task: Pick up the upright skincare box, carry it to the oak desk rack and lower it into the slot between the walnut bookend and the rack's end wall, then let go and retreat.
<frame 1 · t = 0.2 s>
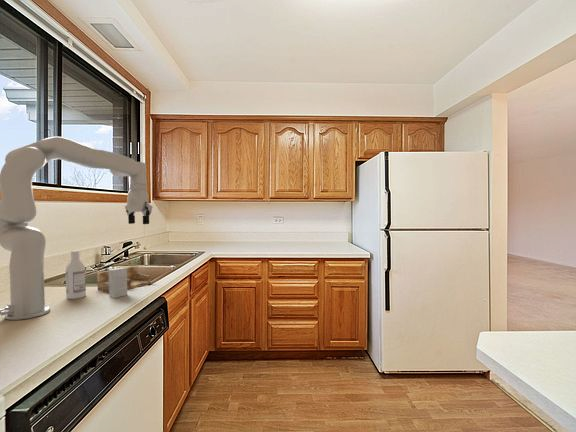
hand: (138, 223, 152), 30 cm above the countertop, fingers open, 9 cm apart
bath foam: (76, 297, 135), on the countertop
skincare box: (118, 296, 137), on the countertop
rack: (125, 286, 153), on the countertop
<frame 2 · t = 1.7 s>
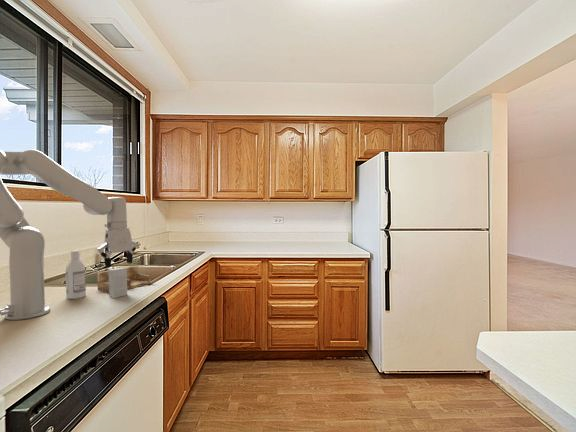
hand: (119, 264, 137), 13 cm above the countertop, fingers open, 9 cm apart
nothing on the countertop moved.
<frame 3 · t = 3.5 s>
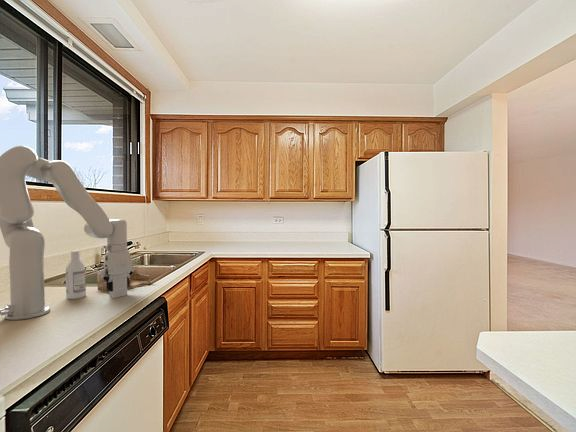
hand: (118, 288, 137), 3 cm above the countertop, fingers closed on skincare box, 6 cm apart
skincare box: (118, 296, 137), on the countertop, touching gripper
everything else where it was.
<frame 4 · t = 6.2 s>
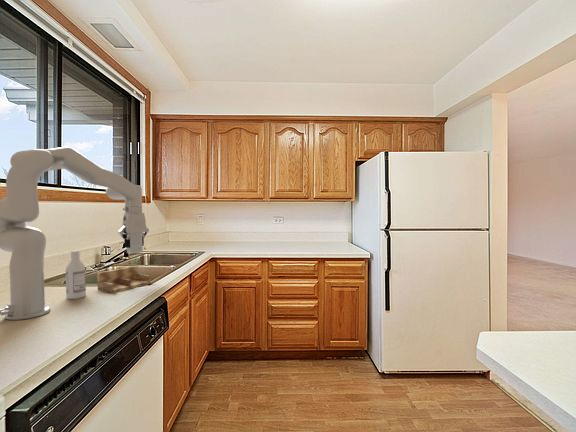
hand: (134, 246, 155), 19 cm above the countertop, fingers closed on skincare box, 6 cm apart
skincare box: (134, 253, 155), point 16 cm above the countertop, touching gripper
everything else where it was.
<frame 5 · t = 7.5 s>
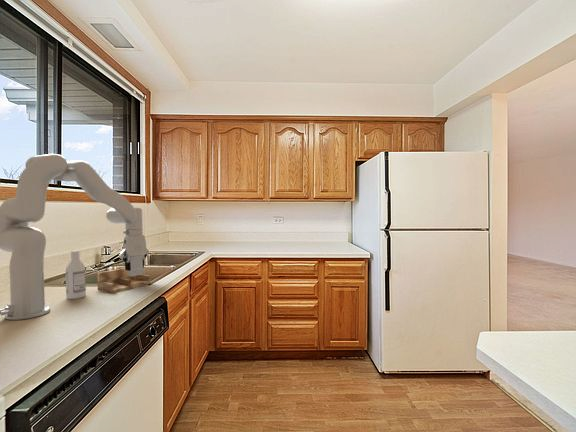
hand: (134, 268, 155), 8 cm above the countertop, fingers closed on skincare box, 6 cm apart
skincare box: (135, 275, 155), point 5 cm above the countertop, touching gripper
everything else where it was.
when the fingers open (5 cm above the countertop, at t = 8.9 s): skincare box stays where it is, resting on rack.
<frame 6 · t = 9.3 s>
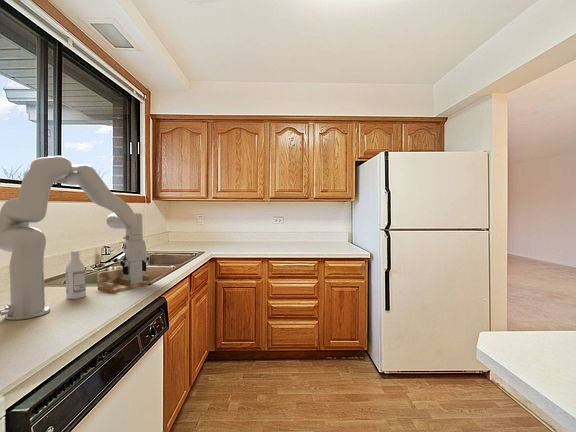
hand: (134, 272, 155), 6 cm above the countertop, fingers open, 9 cm apart
skincare box: (134, 283, 155), point 1 cm above the countertop, touching rack
everything else where it was.
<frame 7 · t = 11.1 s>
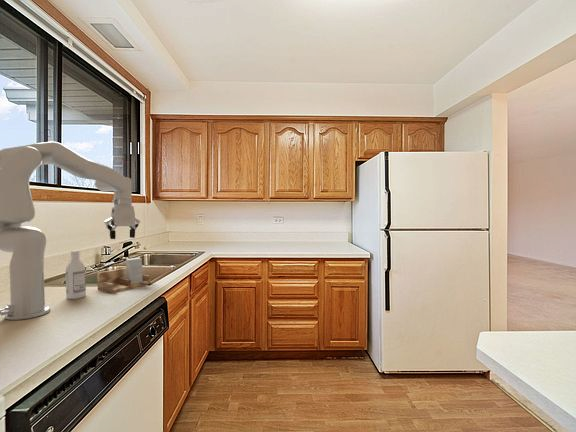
hand: (122, 238, 152), 23 cm above the countertop, fingers open, 9 cm apart
nothing on the countertop moved.
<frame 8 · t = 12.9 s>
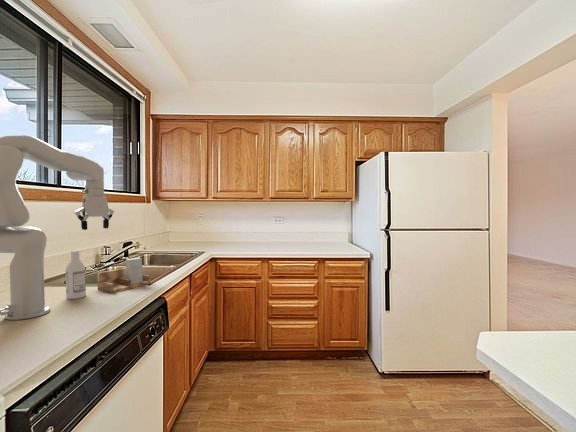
hand: (95, 228, 148), 28 cm above the countertop, fingers open, 9 cm apart
nothing on the countertop moved.
at the end: skincare box inside the target area on the rack (1.2 cm from its centre), point 1.0 cm above the rack's base; skincare box tilted 0°; the gripper is holding nothing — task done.
